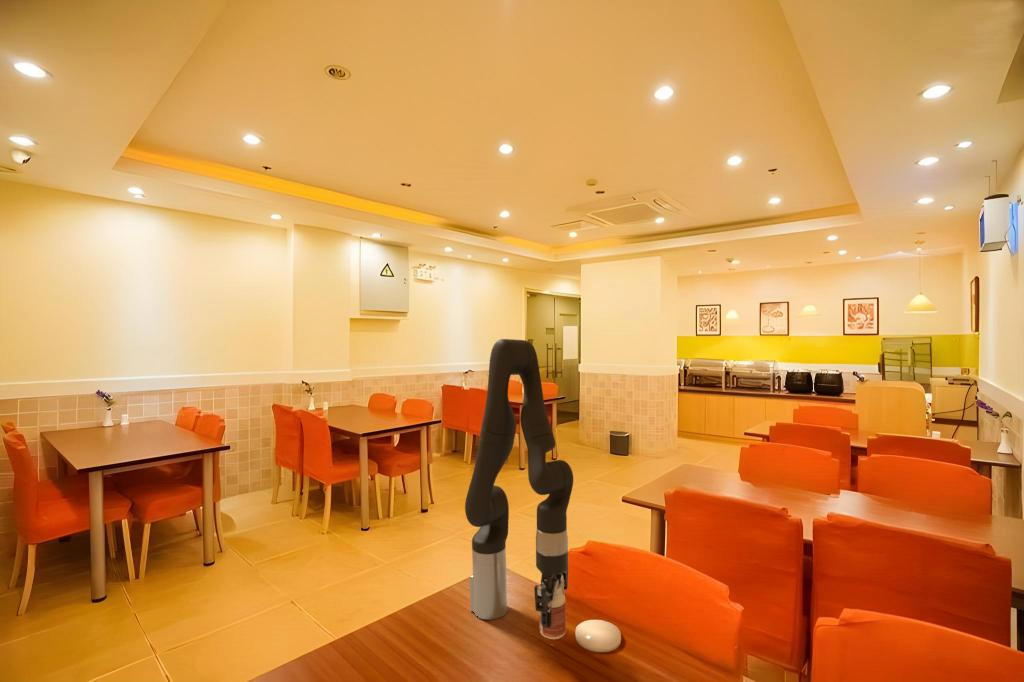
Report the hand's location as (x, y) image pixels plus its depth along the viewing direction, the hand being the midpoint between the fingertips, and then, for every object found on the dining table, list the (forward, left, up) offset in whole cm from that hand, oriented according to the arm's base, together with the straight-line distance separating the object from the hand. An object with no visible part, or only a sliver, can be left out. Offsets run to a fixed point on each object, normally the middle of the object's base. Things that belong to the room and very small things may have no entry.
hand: (552, 618), depth 109 cm
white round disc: (+7, +10, -8) cm, 15 cm away
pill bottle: (0, 0, -3) cm, 3 cm away
